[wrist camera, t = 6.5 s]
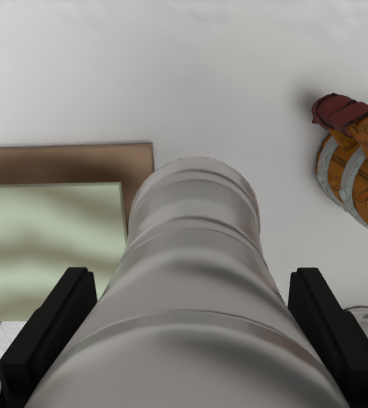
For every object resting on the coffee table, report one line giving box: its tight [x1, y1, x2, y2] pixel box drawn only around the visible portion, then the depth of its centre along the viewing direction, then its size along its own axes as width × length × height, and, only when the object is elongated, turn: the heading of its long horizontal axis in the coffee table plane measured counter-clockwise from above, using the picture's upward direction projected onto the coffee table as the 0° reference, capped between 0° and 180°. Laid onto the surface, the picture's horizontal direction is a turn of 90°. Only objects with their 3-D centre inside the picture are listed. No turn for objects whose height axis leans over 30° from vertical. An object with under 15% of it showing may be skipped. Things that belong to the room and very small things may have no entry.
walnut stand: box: [0, 143, 154, 321], centre depth 40 cm, size 20×20×10 cm
